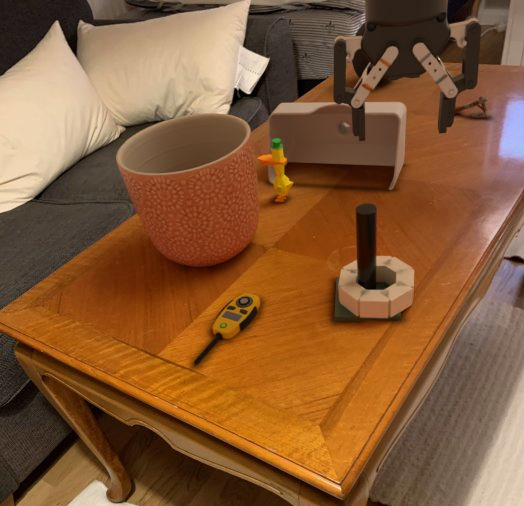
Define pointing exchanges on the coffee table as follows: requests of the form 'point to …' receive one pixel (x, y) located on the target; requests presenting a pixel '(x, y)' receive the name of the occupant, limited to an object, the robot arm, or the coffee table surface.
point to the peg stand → (364, 261)
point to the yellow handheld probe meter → (233, 319)
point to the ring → (378, 300)
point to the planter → (194, 186)
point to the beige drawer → (339, 134)
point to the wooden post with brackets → (472, 104)
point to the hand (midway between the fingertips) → (401, 134)
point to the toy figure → (278, 169)
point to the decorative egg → (362, 59)
